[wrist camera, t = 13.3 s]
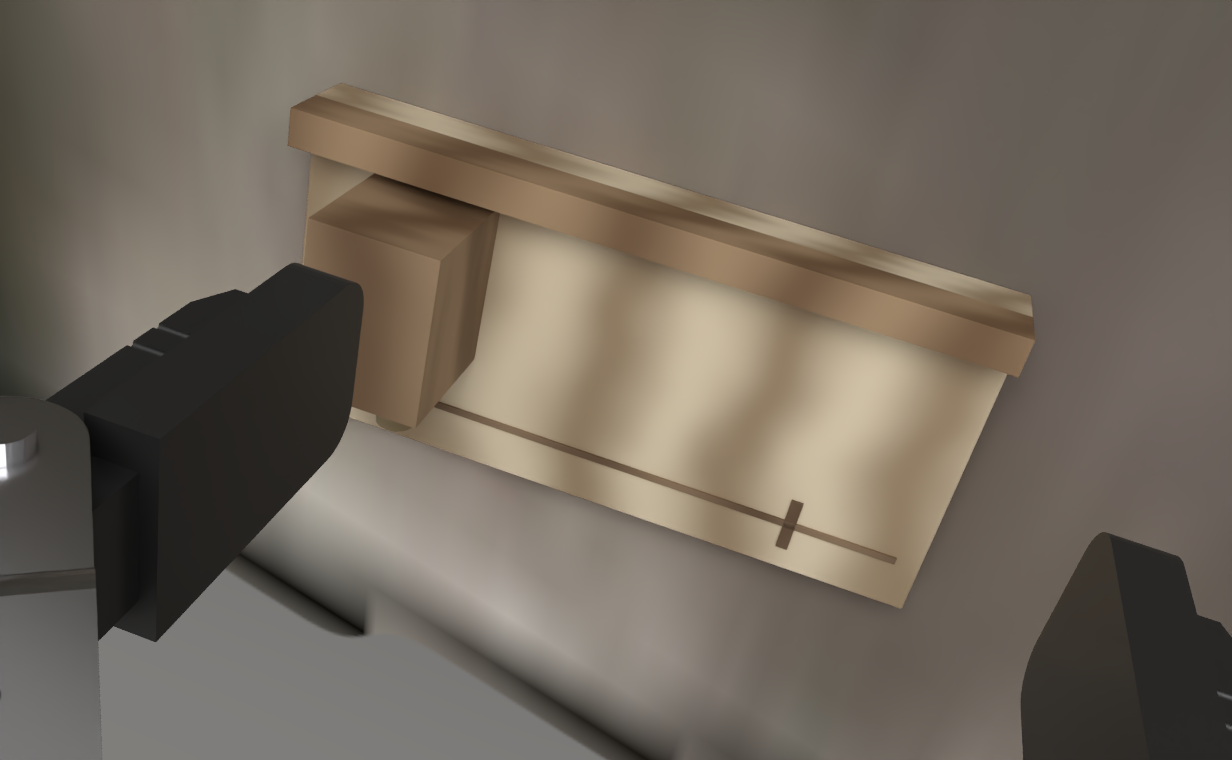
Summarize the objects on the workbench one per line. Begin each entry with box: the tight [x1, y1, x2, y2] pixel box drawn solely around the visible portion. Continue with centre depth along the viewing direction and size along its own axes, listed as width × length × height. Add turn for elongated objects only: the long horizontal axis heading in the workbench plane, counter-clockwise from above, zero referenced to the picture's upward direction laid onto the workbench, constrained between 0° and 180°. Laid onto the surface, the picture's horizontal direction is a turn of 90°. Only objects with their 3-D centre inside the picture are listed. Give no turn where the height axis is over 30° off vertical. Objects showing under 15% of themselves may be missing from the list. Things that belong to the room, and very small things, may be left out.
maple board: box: [288, 83, 1035, 609], centre depth 47 cm, size 28×14×4 cm, turn 77°
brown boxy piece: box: [304, 173, 500, 432], centre depth 46 cm, size 5×10×6 cm, turn 167°
